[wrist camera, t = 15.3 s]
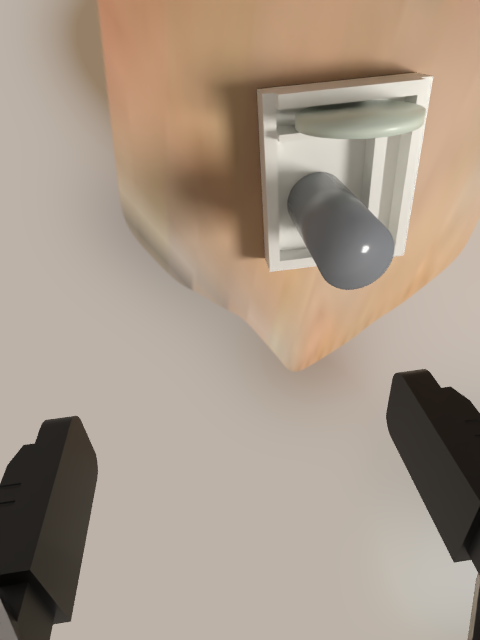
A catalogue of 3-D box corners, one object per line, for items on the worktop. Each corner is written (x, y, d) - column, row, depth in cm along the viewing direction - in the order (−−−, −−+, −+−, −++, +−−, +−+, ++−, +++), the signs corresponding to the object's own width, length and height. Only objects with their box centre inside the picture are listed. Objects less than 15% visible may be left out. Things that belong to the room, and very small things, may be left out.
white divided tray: (256, 89, 34) (280, 110, 26) (416, 72, 34) (487, 88, 26) (265, 258, 42) (284, 313, 34) (392, 242, 43) (439, 293, 35)
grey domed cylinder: (286, 175, 37) (320, 224, 28) (347, 168, 37) (399, 215, 28) (287, 232, 40) (317, 293, 31) (343, 226, 40) (389, 284, 31)
